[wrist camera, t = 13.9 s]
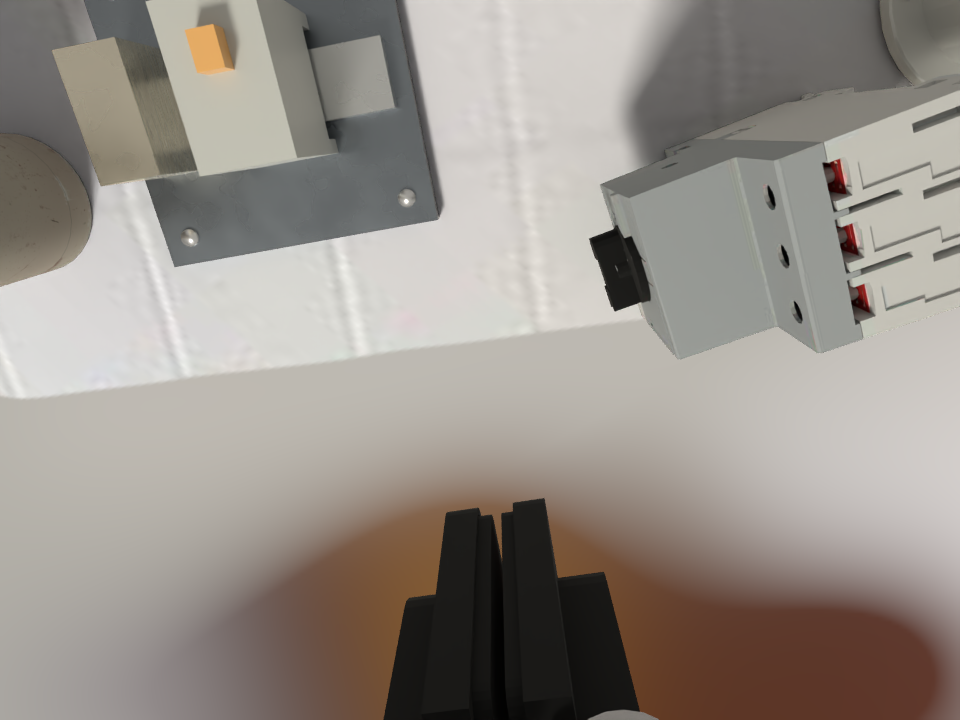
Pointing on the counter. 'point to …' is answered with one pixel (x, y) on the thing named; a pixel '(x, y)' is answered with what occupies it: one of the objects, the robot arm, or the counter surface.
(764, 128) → the circuit breaker
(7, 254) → the thermos bottle
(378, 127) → the mounting plate
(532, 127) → the counter surface
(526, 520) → the robot arm
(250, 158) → the block
